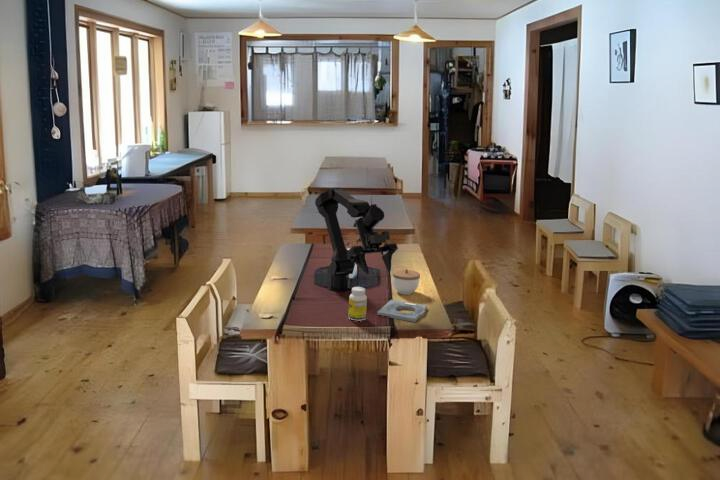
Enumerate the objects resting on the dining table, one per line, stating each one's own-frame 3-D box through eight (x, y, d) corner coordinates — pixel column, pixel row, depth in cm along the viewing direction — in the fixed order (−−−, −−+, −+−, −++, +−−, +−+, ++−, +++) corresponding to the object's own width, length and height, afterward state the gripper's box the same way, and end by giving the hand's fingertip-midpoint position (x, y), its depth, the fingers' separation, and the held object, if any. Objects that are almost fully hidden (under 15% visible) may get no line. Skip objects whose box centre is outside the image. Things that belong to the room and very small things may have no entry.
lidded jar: (410, 298, 290) (412, 274, 287) (386, 292, 295) (387, 269, 293) (423, 292, 299) (425, 269, 296) (399, 286, 304) (401, 263, 302)
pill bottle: (347, 315, 267) (349, 285, 264) (364, 316, 267) (366, 286, 265) (348, 321, 261) (350, 291, 258) (366, 322, 261) (368, 291, 259)
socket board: (377, 315, 269) (377, 311, 268) (390, 302, 283) (391, 299, 283) (417, 322, 264) (417, 318, 264) (429, 309, 279) (429, 305, 278)
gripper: (354, 225, 264) (366, 266, 259) (398, 221, 274) (411, 261, 269) (340, 238, 273) (352, 278, 268) (384, 234, 283) (396, 273, 278)
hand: (379, 272), depth 270 cm, fingers open, 9 cm apart
